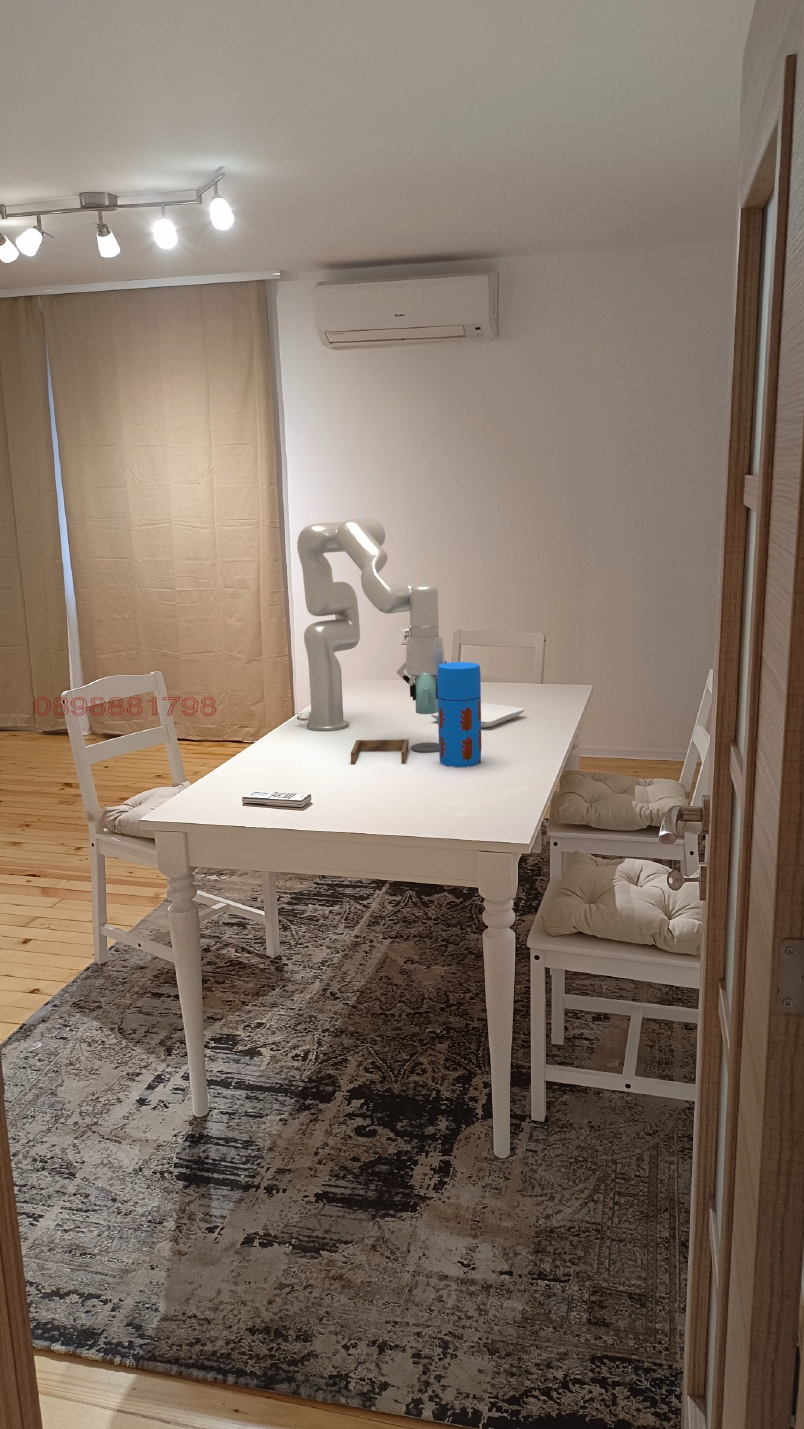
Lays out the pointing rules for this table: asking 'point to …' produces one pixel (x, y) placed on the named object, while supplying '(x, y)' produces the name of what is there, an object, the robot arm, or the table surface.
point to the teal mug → (426, 694)
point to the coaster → (425, 747)
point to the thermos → (459, 713)
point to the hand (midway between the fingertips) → (426, 698)
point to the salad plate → (494, 714)
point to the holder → (380, 747)
